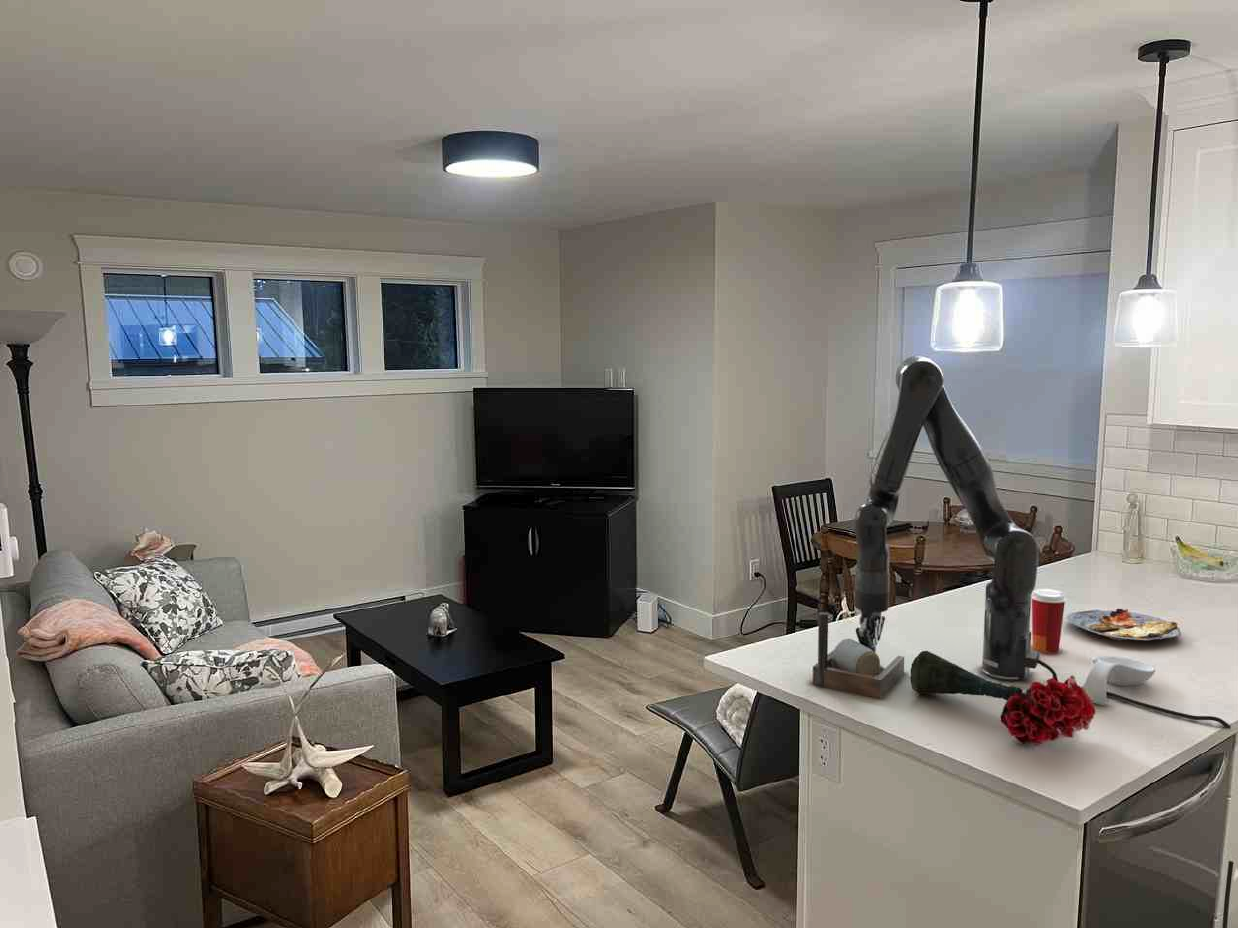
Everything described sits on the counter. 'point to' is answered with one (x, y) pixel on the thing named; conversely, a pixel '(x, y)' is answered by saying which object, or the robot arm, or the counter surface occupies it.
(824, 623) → the wooden post tray
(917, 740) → the counter surface
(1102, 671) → the spoon rest
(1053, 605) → the paper cup
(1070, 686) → the carnation
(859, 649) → the ceramic mug
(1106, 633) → the food plate
